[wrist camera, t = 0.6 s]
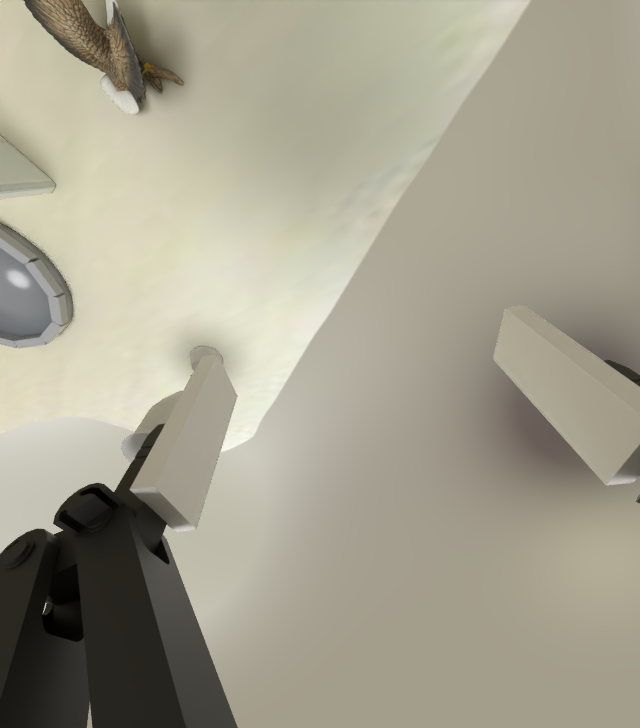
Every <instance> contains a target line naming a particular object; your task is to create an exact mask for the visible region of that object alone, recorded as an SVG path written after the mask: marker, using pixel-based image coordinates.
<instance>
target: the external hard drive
mask: <svg viewBox="0 0 640 728" xmlns="http://www.w3.org/2000/svg"><path fill="white" fill-rule="evenodd" d="M55 186H56V185H55V183H54V182H53V181H52V180H51V179H50V178H49V177H48V176H47V175H46V174H44V173H43V172H42V171H41V170H40V169H39V168H37V167H36V166H35V165H34V164H33V163H32V162H31V161H29V160H28V159H27V158H26V157H25V156H23V155H22V154H21V153H20V152H19V151H18V150H17V149H15V148H14V147H13V146H12V145H11V144H10V143H8V142H7V141H6V140H5V139H4V138H3V137H1V136H0V199H5V198H14V197H22V196H31V195H39V194H48V193H52V192H53V190H54V189H55Z"/></svg>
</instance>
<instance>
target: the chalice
mask: <svg viewBox="0 0 640 728" xmlns="http://www.w3.org/2000/svg"><path fill="white" fill-rule="evenodd" d="M215 354H218V356H219V358H220V361H221V363H222V365H223V359H222V356H221V355H220V353H219V352H218V351H216V350H215V349H213V348H211V347H208V346H198V347H196V348H194V349H193V350H192V352H191V354H190V358H191V366H192V369H193V370H194V371H195V369H196V367H197V365H198V363H199V361H200V360H201V358H202V357H203V356H209V355H215ZM191 376H192V375H191ZM182 392H183V391H179V392H177V393H175V394H172V395H170V396H168V397H166V398H164V399H163V400H161V401H160V402H158V403H157V404H155V405H154V406H153V407H152V408H151V409H150V410H149V411H148V413H147V414H146V416H145V417H144V419H143V420H142V422H141V424H140V425H139V427H138V428H137V430H136V431H135V433H133V434H131V435H130V436H128V437H126V438H125V439H124V440H123V441H122V445H121V449H122V452H123V455H124V456H125V457H126V458H127V459H128V460H129V461H130V462H131V463H132V461H133V460H134V459H135V456H136V454H137V452H138V451H139V450H140V449H141V446H142V444H143V442H144V441H145V439H146V437H147V435H148V434H149V433H150V432H151V431H152V430H153V429H154V428H155V427H156V426H157V425H158V424H165V423H166V422H167V420H168V418H169V416H170V414H171V413H172V411H173V409H174V407H175V405H176V403H177V402H178V400H179V398H180V396H181V394H182Z"/></svg>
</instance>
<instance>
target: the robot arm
mask: <svg viewBox="0 0 640 728" xmlns="http://www.w3.org/2000/svg"><path fill="white" fill-rule="evenodd" d="M493 359H494V360H495V362H496V363H497V364H498V365H499V366H500V367H501V368H502V369H503V370H504V371H505V373H506V374H507V375H508V376H509V377H510V378H511V379H512V381H513V382H514V383H515V384H516V385H517V386H518V387H519V388H520V389H521V391H522V392H523V393H524V394H525V395H526V396H527V397H528V398H529V400H530V401H531V402H532V403H533V404H534V405H535V406H536V407H537V408H538V410H539V411H540V412H541V413H542V414H543V415H544V416H545V418H547V420H548V421H549V422H550V423H551V424H552V425H553V426H554V427H555V429H556V430H557V431H558V432H559V433H560V434H561V435H562V436H563V438H564V439H565V440H566V441H567V442H568V443H569V444H570V445H571V447H572V448H573V449H574V450H575V451H576V452H577V453H578V454H579V455H580V457H581V458H582V459H583V460H584V461H585V462H586V463H587V464H588V465H589V467H590V468H591V469H592V470H593V471H594V472H595V473H596V474H597V476H598V477H599V478H600V479H601V480H602V481H603V482H604V483H605V484H606V485H615V484H624V483H633V482H634V481H635V480H636V479H637V478H638V477H639V476H640V375H638V374H637V373H635V372H634V371H632V370H631V369H629V368H627V367H625V366H622V365H620V364H617V363H615V362H613V361H610V360H605V361H602V360H601V359H599V358H598V357H597V356H595V355H594V354H592V353H591V352H589V351H588V350H587V349H585V348H584V347H582V346H581V345H580V344H578V343H577V342H575V341H574V340H572V339H571V338H570V337H568V336H567V335H565V334H564V333H562V332H561V331H560V330H558V329H557V328H555V327H554V326H552V325H551V324H550V323H548V322H547V321H545V320H544V319H542V318H541V317H540V316H538V315H537V314H535V313H534V312H533V311H531V310H530V309H528V308H527V307H525V306H524V305H521V306H515V307H509V308H505V311H504V315H503V319H502V323H501V327H500V331H499V336H498V340H497V344H496V348H495V352H494V356H493ZM236 399H237V394H236V392H235V390H234V388H233V386H232V384H231V382H230V380H229V377H228V375H227V373H226V371H225V369H224V367H223V365H222V363H221V361H220V358H219V356H218V354H215V355H209V356H203V357H202V358H201V360H200V361H199V363H198V365H197V367H196V369H195V371H194V372H193V374H192V376H191V378H190V380H189V381H188V383H187V385H186V387H185V389H184V391H183V392H182V394H181V396H180V398H179V400H178V402H177V403H176V405H175V407H174V409H173V411H172V413H171V414H170V416H169V418H168V420H167V422H166V423H165V424H158V425H157V426H156V427H155V428H154V429H153V430H152V431H151V432H150V433H149V434H148V435H147V437H146V439H145V441H144V442H143V444H142V446H141V449H140V450H139V451H138V452H137V454H136V456H135V459H134V460H133V461H132V463H131V464H130V466H129V468H128V470H127V471H126V473H125V475H124V477H123V478H122V480H121V481H120V483H119V485H118V487H117V489H116V490H115V492H112V491H111V490H110V489H109V488H108V487H107V486H105V485H104V484H101V483H95V484H90V485H88V486H86V487H84V488H82V489H80V490H78V491H77V492H76V493H74V494H73V495H72V496H70V497H69V498H68V499H67V500H66V501H65V502H64V503H63V504H62V505H61V507H60V508H59V510H58V511H57V513H56V515H55V518H54V522H53V524H55V525H56V526H58V527H59V528H61V529H63V531H61V532H59V533H56V534H54V535H53V534H51V533H50V532H48V531H46V530H45V529H35V530H32V531H29V532H27V533H25V534H23V535H22V536H20V537H18V538H17V539H16V540H14V541H13V542H12V543H11V544H10V545H8V546H7V547H6V548H5V549H4V551H3V552H2V553H1V554H0V728H87V720H88V711H89V703H90V705H91V716H92V727H93V728H237V725H236V722H235V719H234V717H233V714H232V712H231V709H230V706H229V704H228V701H227V698H226V696H225V693H224V691H223V688H222V685H221V682H220V680H219V677H218V674H217V672H216V669H215V666H214V664H213V661H212V659H211V656H210V653H209V651H208V648H207V645H206V643H205V640H204V637H203V635H202V632H201V629H200V627H199V624H198V621H197V619H196V616H195V614H194V611H193V608H192V606H191V603H190V600H189V598H188V595H187V593H186V590H185V587H184V584H183V582H182V579H181V576H180V574H179V571H178V568H177V566H176V563H175V560H174V558H173V555H172V552H171V550H170V547H169V545H168V542H167V539H166V538H165V537H164V536H163V532H164V529H165V527H166V525H168V526H169V527H170V528H172V529H173V530H174V531H175V532H177V531H187V530H196V528H197V525H198V522H199V519H200V515H201V512H202V509H203V506H204V503H205V499H206V496H207V493H208V489H209V486H210V483H211V480H212V477H213V473H214V470H215V467H216V464H217V460H218V457H219V454H220V451H221V448H222V444H223V441H224V438H225V435H226V431H227V428H228V425H229V422H230V418H231V415H232V412H233V409H234V405H235V402H236ZM636 502H638V503H640V495H639V496H638V498H637V501H636ZM45 602H46V603H47V604H46V608H45V611H44V613H43V610H44V606H45Z"/></svg>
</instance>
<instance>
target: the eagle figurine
mask: <svg viewBox="0 0 640 728" xmlns="http://www.w3.org/2000/svg"><path fill="white" fill-rule="evenodd" d="M24 1H25V5H26V7H27V8H28V9H29V10H30V11H31V12H32V15H33V16H34V18H35V19H36V20H37V21H39V22H40V23H41V25H42V26H43V27H44V28H45V29H46V31H47V32H48V33H49V34H51V35H52V36H53V37H54V39H55V40H57V41H58V42H59V43H60V45H62V46H63V47H64V48H65V49H66V50H67V51H68V52H70V53H71V54H73V55H74V56H75V57H77V58H79V59H80V60H81V61H83V62H85V63H87V64H88V65H92V66H93V67H95V68H98V69H100V70H101V71H102V72H105V73H106V75H105V76H104V77H103V78H102V79H101V85H102V87H103V89H104V90H105V92H106V93H107V94H108V96H109V97H110V98H111V99H112V101H113V103H114V104H115V105H117V106H118V108H119V109H120V110H121V111H123V112H126V113H127V114H137V113H139V107H138V104H137V102H136V100H137V101H138V102H139V103H141V100H140V96H141V98H142V99H144V100H145V96H144V92H145V90H144V89H145V87H144V85H143V79H142V76H145V77H146V78H147V80H148V81H149V82H150V84H151V85H152V86H153V87H154V88H155V89H156V90H157V91H158V92H159V93H160V94H161V93H162V87H161V84H160V81H159V80H158V78H157V77H162V78H166V79H169V80H172V81H174V82H175V83H177V84H178V85H183V84H184V83H183V81H182V80H180V79H179V78H178V77H177V76H176V75H175V74H173V73H172V72H170V71H168V70H165V69H161V68H157V67H156V66H152V65H151V64H149V63H147V62H146V61H144V60H143V59H142V58H140V57H139V56H138V55H137V53H136V52H135V50H134V46H133V44H132V42H131V40H130V37H129V34H128V32H127V29H126V26H125V23H124V20H123V17H122V15H121V12H120V9H119V6H118V3H117V0H106V13H107V28H106V29H104V28H101V27H100V26H98V25H97V24H96V23H95V21H94V20H93V18H92V17H91V15H90V14H89V12H88V10H87V9H86V7H85V6H84V4H83V3H82V1H81V0H24ZM131 92H132V93H131ZM132 94H133V95H132ZM133 96H134V97H135V98H136V100H135V98H134V97H133Z"/></svg>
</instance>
